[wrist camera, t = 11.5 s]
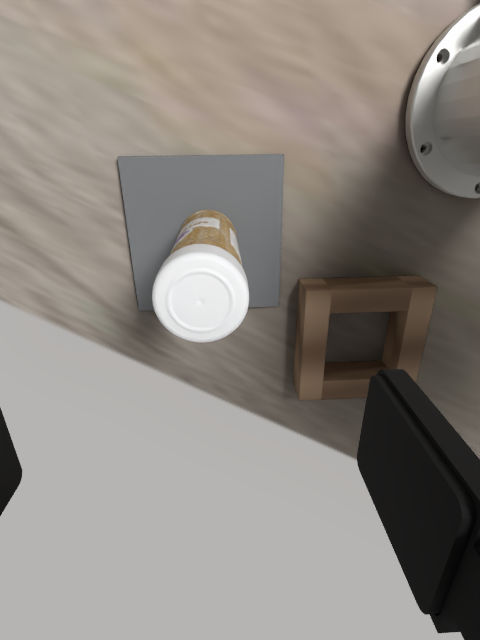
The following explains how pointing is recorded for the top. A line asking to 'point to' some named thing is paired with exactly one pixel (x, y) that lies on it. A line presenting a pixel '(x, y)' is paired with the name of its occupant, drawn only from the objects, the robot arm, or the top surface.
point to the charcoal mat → (205, 194)
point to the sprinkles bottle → (202, 281)
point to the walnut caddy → (356, 297)
